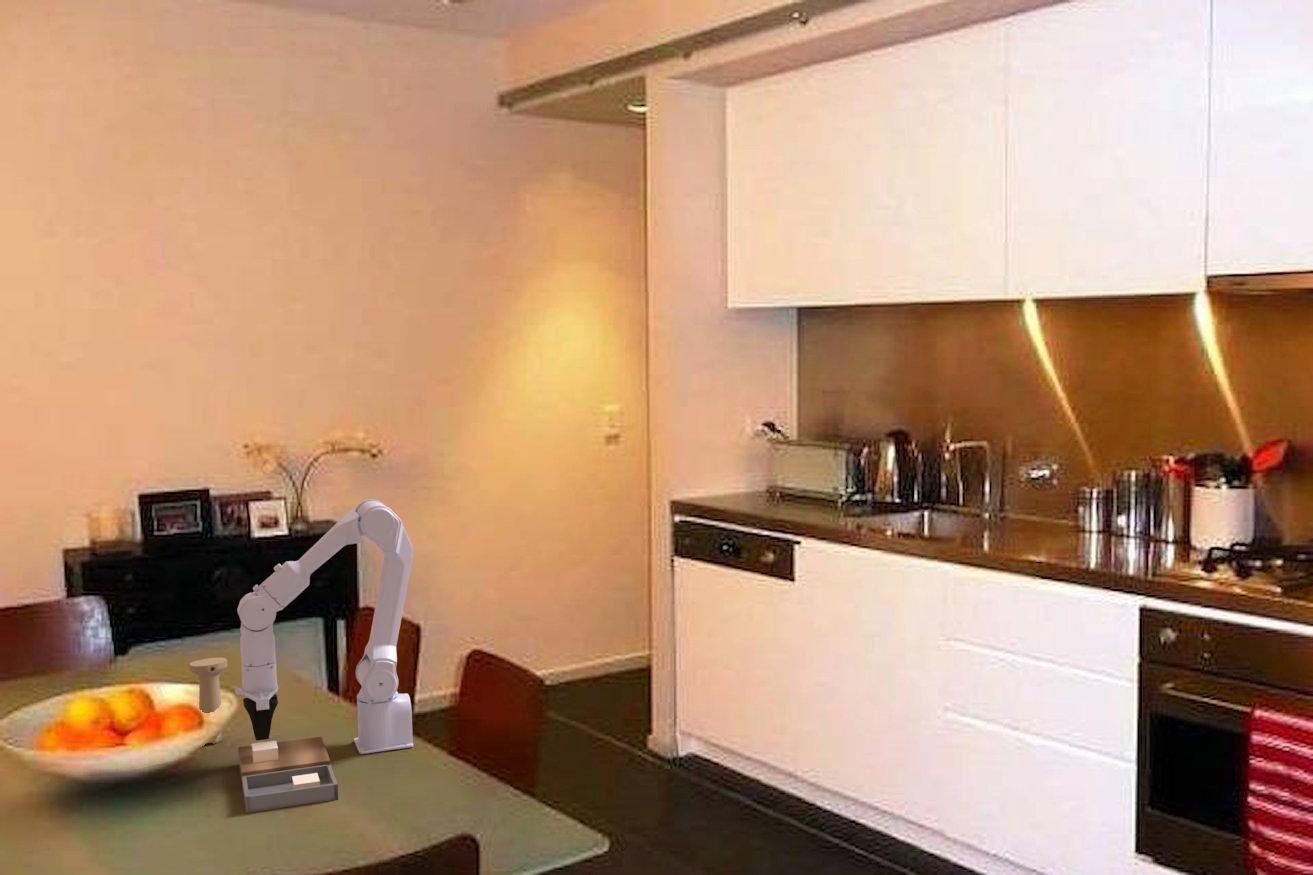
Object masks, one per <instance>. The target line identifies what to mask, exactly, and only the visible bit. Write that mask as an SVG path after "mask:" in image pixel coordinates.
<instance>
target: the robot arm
mask: <svg viewBox="0 0 1313 875" xmlns="http://www.w3.org/2000/svg"><path fill="white" fill-rule="evenodd" d="M354 509H355V510H354ZM354 509H352V510H349V511H348V512H347V513H346V514H345V515H344V516H342V518H340V520H338V521H337V522H336V523H335V524H334V525H333V526H332V527H331V528H330V529H329V530H328V531H327V532H326V533H325V534H324V535H323V536H322V537H321V538H319V540H317V542H316V543H314V544H313V546H311V548H309V549H308V550H307V551H306V552H305V553H304V554H303V555H302V556H301V557H300V558H299V559H298V560H295V561H294V560H289V561H285V562H284V563H282V565H281V563H278V564H276V565H274V567H273V570H274V572H273V573H272V574H271V575H270V576H268V577H267V578H265V580H264V581H262V582H261V584H259V585H258V584H255V585H254V586H253V587H252V590H253V592H249V593H246V594H244V596H243V597H242V598H241V599H240V600H239V604H238V606H237V609H236V610H237V615H238V616H239V620H240V627H239V632H240V634H241V635H240V637H239V642H240V643H239V644H240V646H239V648H240V664H241V665H240V667H241V668H240V669H241V684H242V685H241V686H242V687H238V688H237V687H236V688H235V690H234V691H235V695H236V696H244V698H242V702H243V703H242V704H243V707H244V709H245V710H246V712H247V714H248V716H249V718H250V721H251V724H252V730H253V731H252V732H253V734H254V738H255V740H256V741H265V740H269V738H270V735H271V734H270V733H271V729H272V728H271V727H272V721H273V716H274V713H275V710H276V708H277V707H278V704H279V700H278V695H277V692H278V690H279V684H278V679H277V658H276V657H277V655H276V637H275V634H274V627H273V625H274V622H275V620H276V617H277V612H280V611H282V610H284V609H285V608H286V607H287V606H288V605H289V604H290V603H291V602H293V601H294V600H295V599H296V598H297V597H298V596H299V595H300V594H301V593H303V591H305V589H307V588H308V587H309V586H310V583H311V582H310V581H311V580H310V579H311V578H310V577H311V575H312V574H313V573H314V572H315V571H316V570H318V569H319V568H320V567H321V566H322V565H324V564H325V563H326V562H327V561H328V560H329V559H331V558H332V557H333V556H334V555H336V553H338V552H339V551H340V550H341V549H342V548H343V547H346V546H347V545H354V544H362V543H364V539H363V537H366V538H367V539H368V540H370V541H371V542H373V543H374V544H376V546H377V547H378V548H379V550H380V551H381V552H382V553H383V556H384V557H383V562H382V568H381V573H380V574H381V575H380V579H379V583H378V584H379V585H378V591H377V596H376V602H375V607H374V612H373V618H372V624H371V630H370V633H369V640H368V642H367V644H366V645H365V647H364V653H363V656H362V658H361V659H360V660H359V662H358V664H357V665H356V668H355V679H356V680H357V681H358V683H359V684H360V685H361V688H360V690H359V692H358V693H357V694H356V705H357V706H356V708H357V732H358V733H357V734H358V735H357V736H358V737H355V738H353V741H354V744H355V747H356V748H357V750H358V753H359V754H360V755H363V754H371V753H379V752H387V751H393V750H400V749H401V750H402V749H408V748H413V747H414V741H413V715H412V714H413V712H412V703H411V698H410V695H409V693H399V692H398V687H399V677H398V674H397V665H398V664H397V663H398V656H397V655H398V653H397V644H398V640H399V633H400V628H401V623H402V619H403V618H402V617H403V614H404V613H403V612H404V607H405V602H406V596H407V591H408V590H407V589H408V585H409V579H410V573H411V569H412V562H413V559H414V558H413V557H414V547H413V544H412V542H411V540H410V538H409V535H408V533H407V531H406V529H405V527H404V522H403V521H402V520H401V518H400V517H399V516H398V515H397V514H396V513H395V512H394V511H393V510H392V509H391V508H390V507H388V506H387V505H386V504H385V503H384V502H382V501H381V500H378V499H373V498H369V499H366V500H363V501H362V502H360V503H359V504H357V506H356V508H354Z"/></svg>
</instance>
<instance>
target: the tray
mask: <svg viewBox="0 0 1313 875" xmlns="http://www.w3.org/2000/svg"><path fill="white" fill-rule="evenodd" d="M312 773H317V774H318V777H319V780H320V785H319V786H312V787H305V788H298V789H292V776H298V775H305V774H312ZM242 783H243V788H242V794H243V800H244V807H245V808H244V809H245V814H249V813H258V812H263V811H271V810H276V809H284V808H289V807H296V806H302V805H303V806H304V805H309V804H310V805H311V804H315V803H322V802H329V801H337V800H339V788H338V787H339V786H338V784H339V783H338V781H337V778H336V776H335V773H334V770H333V768H332V764H331V763H330V764H326V765H319V766H312V767H305V768H298V769H291V770H284V771H276V772H269V773H262V774H255V775H248V776H242V781H241V784H242Z"/></svg>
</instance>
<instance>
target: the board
mask: <svg viewBox="0 0 1313 875" xmlns="http://www.w3.org/2000/svg"><path fill="white" fill-rule="evenodd" d="M276 742H277V741H276ZM277 746H278V760H271V761H263V762H256V763H253V758H252V745H247V746H240V747H237V748H238V749H237V750H238V768H239V774H240V781H241V786H242V787H241V788H242V789H243V783H242V776H248V775H255V774H262V773H269V772H276V771H284V770H291V769H298V768H305V767H312V766H319V765H326V764H331V759H330V755H329V754H328V751H327V748H326V747H327V746H325V743H324V739H323V737H322V736H314V737H308V738H307V737H306V738H299V739H294V740H284V741H278V742H277Z"/></svg>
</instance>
